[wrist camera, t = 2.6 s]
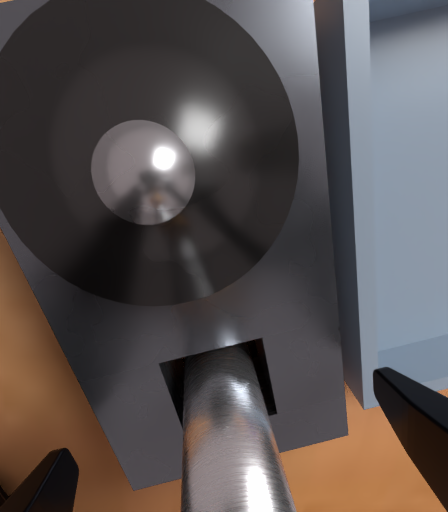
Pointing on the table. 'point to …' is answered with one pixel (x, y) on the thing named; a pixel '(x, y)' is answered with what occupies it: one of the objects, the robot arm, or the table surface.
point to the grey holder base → (173, 207)
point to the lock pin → (229, 438)
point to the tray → (387, 184)
